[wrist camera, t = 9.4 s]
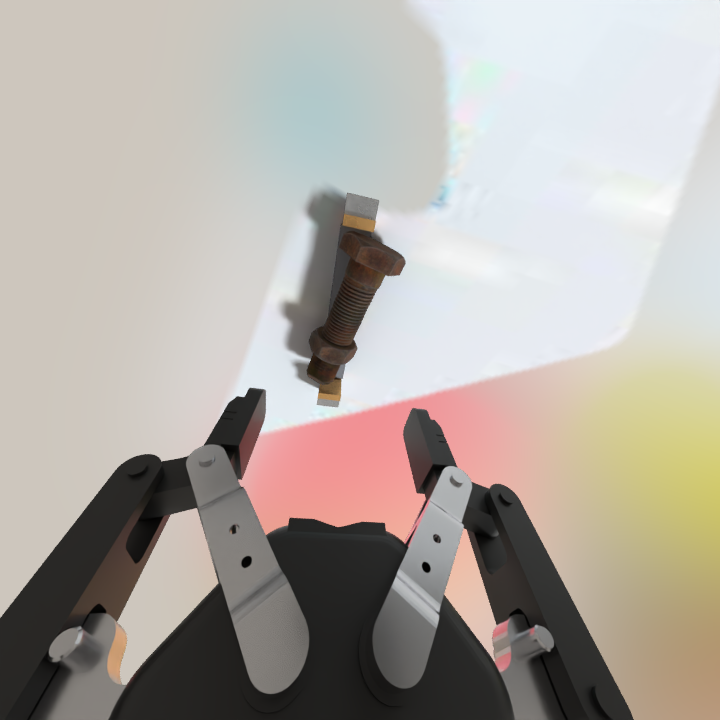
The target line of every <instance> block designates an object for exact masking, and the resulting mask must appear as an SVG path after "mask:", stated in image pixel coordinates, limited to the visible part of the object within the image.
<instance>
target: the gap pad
mask: <svg viewBox="0 0 720 720" xmlns="http://www.w3.org/2000/svg"><path fill="white" fill-rule="evenodd" d="M348 231H355V232H358V233H360V234H363V235H365V236H368V237H371V232H370V231H366V230H361V229H356V228H352V227H347V226H343V224H341V228H340V235H339V242H338V249H337V257H336V264H335V271H334V278H333V285H332V292H331V299H330V307H329V313H330V310H331V308H332V306H333V303H334V301H335V298H336V295H337V294H338V291H339V288H340V287H341V286H340V285H341V284H342V281H343V278H344V277H345V270H346V267H347V265H348V262H349V260H350V256H349V255H347V254H346V253H345V252H344V251H343V250H341V249H340V248H339V245H340V242H341V240H342V237H343V234H344V233H346V232H348ZM328 316H329V314H328ZM344 369H345V364H343V365H340V368H339V370H338V372H337V374H336V376H335V378H341V379H343V374H344Z"/></svg>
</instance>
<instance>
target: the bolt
mask: <svg viewBox="0 0 720 720" xmlns="http://www.w3.org/2000/svg"><path fill="white" fill-rule="evenodd" d="M339 248H340V249H341V250H343V251H344V252H345V253H346V254H347V255H349V256H350V260H349V262H348V265H347V267H346V270H345V277H344V278H343V281H342V284H341V285H340V286H341V287H340V288H339V291H338V294H337V295H336V298H335V301H334V303H333V306H332V308H331V310H330V313H329V316H328V318H327V321H326V323H325V326H322V327H319V328H317V329H316V330H314V331H313V332H312V334H311V336H310V339H309V344H310V347H311V350H312V351H313V356H312V358H311V361H310V363H309V365H308V369H307V375H308V377H310V378H311V379H313V380H314V381H316V382H318V383H320V384H321V385H328V384H330V382H331V383H332V382H333V380H334V378H335V376H336V374H337V372H338V370H339V368H340V365H343V364H346V363H347V362H349V361H350V360H351V359H352V358H353V357H354V355H355V353H356V351H357V346H356V343H355V341H354V340H353V338H354V337H355V335H356V332H357V330H358V328H359V326H360V324H361V321H362V320H363V318H364V315H365V312H366V311H367V309H368V306H369V305H370V303H371V302H372V299H373V296H374V295H375V293H376V291H377V289H378V288H379V287H380V285H381V283H382V281H383V279H384V277H385V275H387V276H396V275H400V273H401V271H402V269H403V267H404V265H405V259H404V257H403V256H402V255H401V254H399V253H398V252H396V251H395V250H393V249H391V248H389V247H388V246H386V245H384V244H382V243H380V242H378V241H376V240H374V239H372V238H370V237H368V236H365V235H363V234H360V233H358V232H355V231H348V232H346V233H344V234H343V237H342V240H341V242H340V245H339Z"/></svg>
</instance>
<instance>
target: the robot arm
mask: <svg viewBox="0 0 720 720" xmlns="http://www.w3.org/2000/svg"><path fill="white" fill-rule="evenodd" d="M265 412H266V391H265V390H264V389H256V388H249V390H248V392H247V394H246V396H245V397H238V396H237V397H236V398H235V399H233V400H232V401H231V402H229V404H228V405H227V407H226V409H225V410H224V412H223V414H222V415H221V417H220V419H219V421H218V422H217V424H216V426H215V427H214V429H213V431H212V433H211V434H210V436H209V438H208V439H207V441H206V443H205V444H204V446H202V447H200V448H198V449H196V450H195V451H193V452H192V453H191V454H190V455H189V456H187V457H184V458H180V459H174V460H168V461H162V462H161V460H160V459H159V457H157V456H155V455H151V454H145V455H140V456H136V457H133V458H131V459H129V460H127V461H126V462H124V463H123V464H121V465H120V466H119V467H118V468H117V470H115V472H114V473H113V474H112V476H111V477H110V478H109V479H108V481H107V482H106V483H105V485H104V486H103V487H102V489H101V490H100V491H99V492H98V494H97V495H96V496H95V497H94V499H93V500H92V501H91V502H90V504H89V505H88V506H87V508H86V509H85V510H84V511H83V513H82V514H81V515H80V517H79V518H78V519H77V521H76V522H75V523H74V524H73V526H72V527H71V528H70V529H69V531H68V532H67V533H66V535H65V536H64V537H63V539H62V540H61V541H60V542H59V544H58V545H57V546H56V547H55V549H54V550H53V551H52V553H51V554H50V555H49V556H48V558H47V559H46V560H45V562H44V563H43V564H42V566H41V567H40V568H39V569H38V571H37V572H36V573H35V574H34V576H33V577H32V578H31V579H30V581H29V582H28V583H27V585H26V586H25V587H24V588H23V590H22V591H21V592H20V594H19V595H18V596H17V598H16V599H15V600H14V602H13V603H12V604H11V605H10V607H9V608H8V609H7V610H6V611H5V613H4V614H3V615H2V617H1V618H0V720H634V719H633V717H632V714H631V712H630V710H629V708H628V705H627V704H626V702H625V700H624V698H623V696H622V694H621V692H620V690H619V688H618V686H617V684H616V683H615V681H614V679H613V677H612V675H611V673H610V671H609V669H608V667H607V665H606V663H605V662H604V660H603V658H602V656H601V654H600V652H599V650H598V648H597V646H596V644H595V642H594V641H593V639H592V637H591V635H590V633H589V631H588V629H587V627H586V625H585V623H584V622H583V620H582V618H581V616H580V614H579V612H578V610H577V608H576V606H575V604H574V603H573V601H572V599H571V597H570V595H569V593H568V591H567V589H566V587H565V585H564V583H563V581H562V580H561V578H560V576H559V574H558V572H557V570H556V568H555V566H554V564H553V562H552V561H551V559H550V557H549V555H548V553H547V551H546V549H545V547H544V545H543V543H542V542H541V540H540V538H539V536H538V534H537V532H536V530H535V528H534V526H533V524H532V522H531V520H530V519H529V517H528V515H527V513H526V511H525V509H524V507H523V505H522V503H521V501H520V500H519V498H518V497H517V495H516V494H515V493H514V492H513V491H512V490H510V489H509V488H508V487H506V486H504V485H501V484H494V485H492V486H491V487H490V489H488V488H486V487H483V486H480V485H478V484H475V483H473V482H471V480H470V478H469V477H468V475H467V474H466V473H465V472H464V471H462V470H461V469H459V468H458V467H457V466H456V463H455V460H454V458H453V456H452V453H451V451H450V448H449V446H448V444H447V441H446V439H445V437H444V434H443V432H442V429H441V427H440V426H439V425H438V423H437V422H436V421H435V420H431V419H430V417H429V414H428V412H427V410H424V409H416V408H413V409H412V410H411V412H410V414H409V417H408V420H407V422H406V424H405V427H404V433H403V436H404V441H405V445H406V450H407V454H408V458H409V462H410V467H411V471H412V475H413V479H414V483H415V487H416V492H417V493H422V494H425V497H426V500H425V501H424V503H423V505H422V507H421V510H420V512H419V514H418V516H417V518H416V520H415V522H414V524H413V526H412V528H411V530H410V532H409V534H408V536H407V538H406V540H405V542H403V541H401V540H400V539H399V538H398V537H396V536H395V535H393V534H391V533H389V532H387V531H386V529H385V523H375V522H360V523H355V524H351V525H347V526H344V527H335V526H332V525H329V524H326V523H323V522H321V521H318V520H315V519H301V518H290V519H289V524H288V526H284V527H281V528H278V529H276V530H274V531H272V532H270V533H269V534H267V535H265V533H264V531H263V529H262V526H261V524H260V522H259V519H258V517H257V515H256V513H255V510H254V508H253V506H252V504H251V501H250V499H249V497H248V495H247V493H246V491H245V489H244V488H243V487H241V486H240V484H239V482H238V479H241V480H242V478H243V475H244V473H245V470H246V467H247V464H248V462H249V459H250V457H251V454H252V451H253V449H254V446H255V443H256V441H257V438H258V436H259V433H260V430H261V428H262V425H263V422H264V418H265ZM194 508H197V509H198V513H199V516H200V520H201V523H202V526H203V530H204V533H205V537H206V540H207V543H208V547H209V551H210V555H211V558H212V561H213V565H214V568H215V572H216V576H217V579H218V584H217V585H216V587H215V588H214V589H213V590H212V591H211V592H210V593H209V594H208V595H207V596H206V597H205V598H204V599H203V600H202V601H201V602H200V603H199V605H198V606H197V607H196V608H195V609H194V610H193V611H192V612H191V613H190V614H189V615H188V616H187V617H186V618H185V619H184V620H183V621H182V623H181V624H180V625H179V626H178V627H177V628H176V629H175V630H174V631H173V632H172V633H171V634H170V635H169V636H168V637H167V638H166V639H165V641H163V642H162V644H161V645H160V646H159V647H158V648H157V649H156V650H155V651H154V652H153V653H152V654H151V655H150V656H149V657H148V658H147V659H146V661H145V662H144V663H143V664H142V665H141V666H140V668H139V669H138V670H137V671H136V673H135V674H134V675H133V677H132V678H131V679H130V681H129V682H128V684H127V685H122V683H121V680H120V666H121V661H122V658H123V655H124V652H125V649H126V644H127V636H126V632H125V630H124V629H123V628H122V627H121V626H120V625H119V624H118V623H117V621H118V619H119V617H120V615H121V613H122V611H123V609H124V607H125V605H126V603H127V601H128V599H129V597H130V595H131V593H132V591H133V589H134V587H135V584H136V583H137V581H138V579H139V577H140V574H141V573H142V571H143V569H144V566H145V565H146V563H147V561H148V559H149V557H150V555H151V553H152V551H153V549H154V547H155V545H156V543H157V541H158V539H159V537H160V535H161V533H162V531H163V529H164V526H165V525H166V522H167V521H168V519H169V517H170V515H171V514H174V513H178V512H182V511H186V510H190V509H194ZM463 528H465V529H467V532H468V535H469V538H470V542H471V545H472V548H473V551H474V554H475V558H476V561H477V564H478V567H479V570H480V574H481V577H482V580H483V583H484V586H485V589H486V593H487V596H488V599H489V602H490V605H491V609H492V612H493V615H494V618H495V621H496V624H497V626H496V627H495V629H494V631H493V637H492V639H493V647H494V657H495V663H494V661H493V659H492V658H491V656H490V655H489V653H488V652H487V651H486V649H485V648H484V647H483V645H482V644H481V643H480V641H479V640H478V639H477V638H476V636H475V635H474V634H473V632H472V631H471V630H470V628H469V627H468V626H467V624H466V623H465V622H464V620H463V619H462V618H461V616H460V615H459V614H458V612H457V611H456V610H455V608H454V607H453V606H452V604H451V603H450V602H449V600H448V599H447V598H446V596H445V595H444V592H445V589H446V586H447V582H448V579H449V576H450V572H451V568H452V565H453V562H454V559H455V555H456V552H457V548H458V545H459V542H460V538H461V535H462V531H463Z"/></svg>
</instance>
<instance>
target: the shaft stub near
mask: <svg viewBox="0 0 720 720" xmlns="http://www.w3.org/2000/svg"><path fill="white" fill-rule="evenodd" d="M378 204H379V200H376V199H372V198H368V197H363V196H359V195H355V194H351V193H347V197H346V204H345V211H344V218H343V226H347V227H352V228H356V229H361V230H366V231H370V232H374V228H375V223H376V221H375V219H376V214H377V209H378Z"/></svg>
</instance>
